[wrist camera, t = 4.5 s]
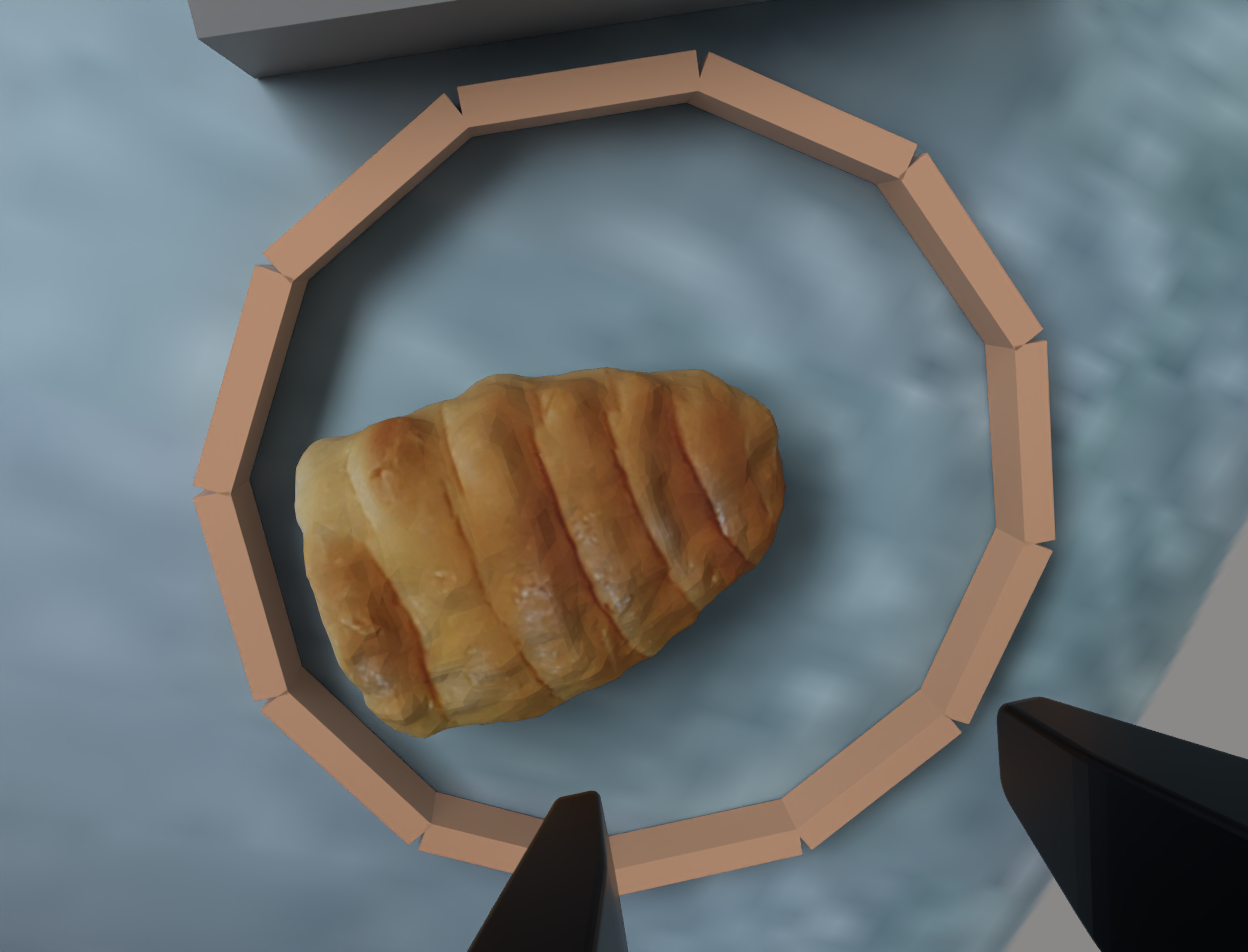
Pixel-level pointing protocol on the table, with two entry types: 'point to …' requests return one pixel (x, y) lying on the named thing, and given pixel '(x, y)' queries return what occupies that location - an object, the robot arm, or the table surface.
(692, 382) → the pastry
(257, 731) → the table surface
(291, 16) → the bin
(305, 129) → the table surface
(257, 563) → the socket ring
